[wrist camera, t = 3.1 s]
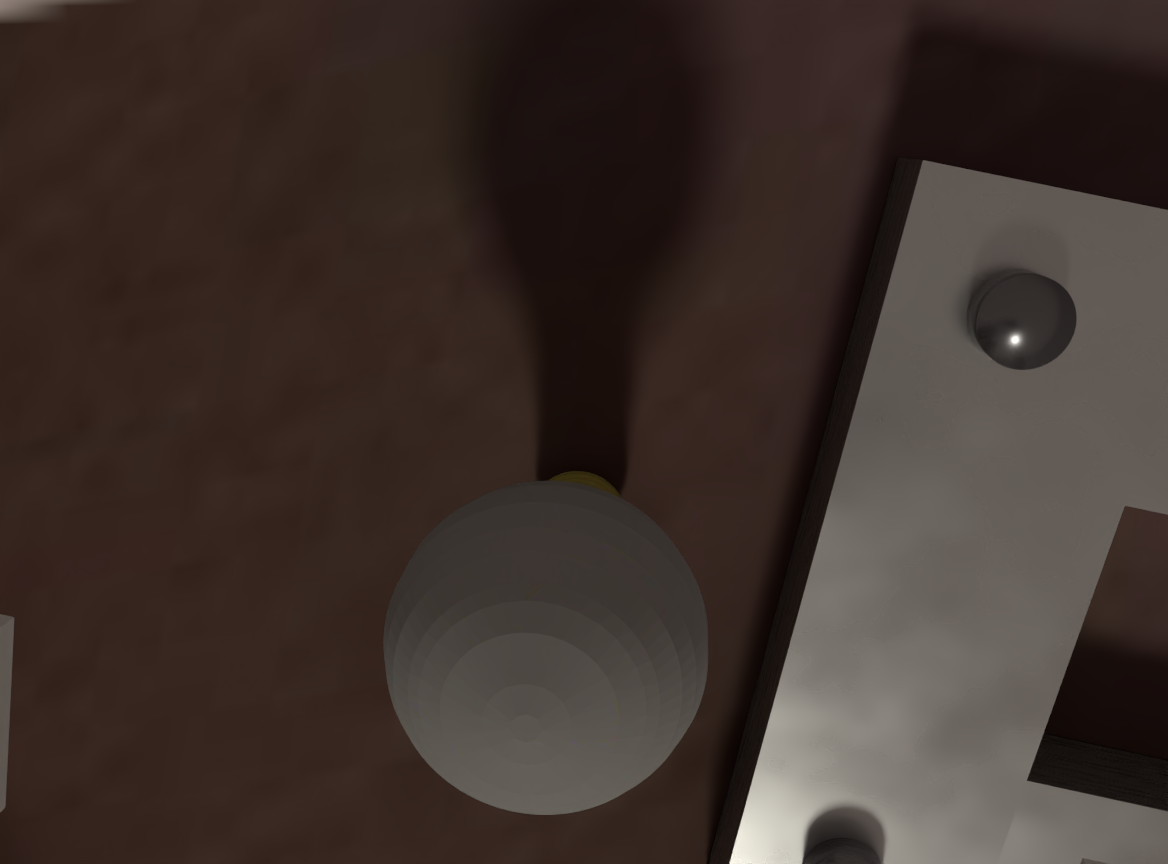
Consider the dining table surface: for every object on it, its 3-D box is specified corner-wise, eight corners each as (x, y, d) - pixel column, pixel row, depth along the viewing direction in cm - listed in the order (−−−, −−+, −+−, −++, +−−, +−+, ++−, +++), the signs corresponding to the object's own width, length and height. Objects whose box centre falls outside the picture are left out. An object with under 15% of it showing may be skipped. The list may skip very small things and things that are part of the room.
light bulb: (726, 580, 26) (756, 847, 16) (507, 634, 27) (412, 919, 17) (663, 361, 25) (655, 511, 15) (435, 425, 25) (289, 605, 16)
